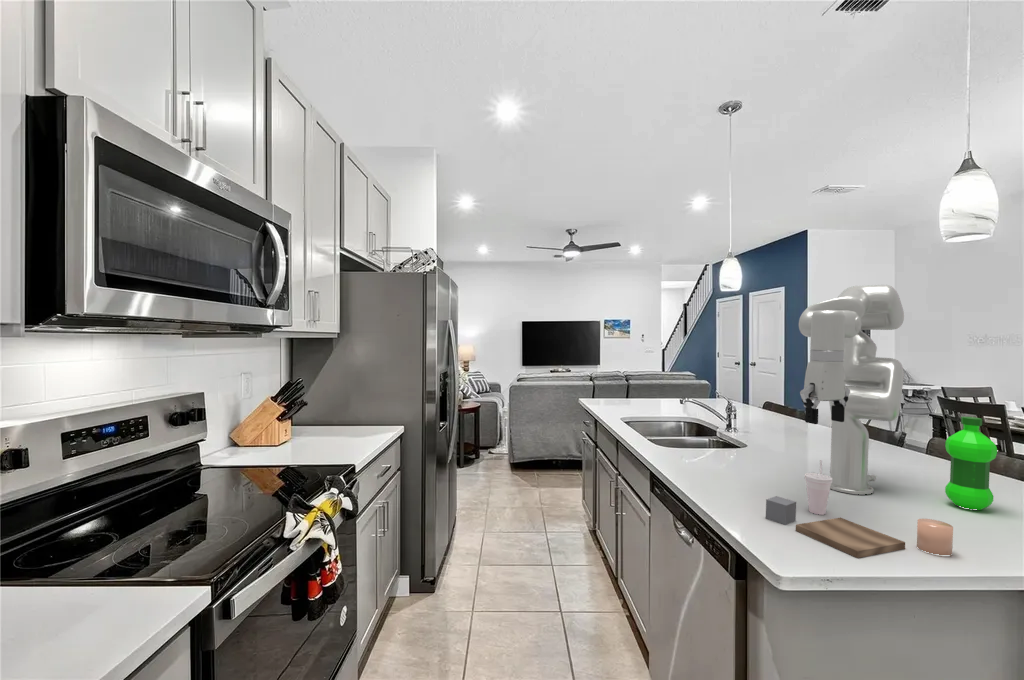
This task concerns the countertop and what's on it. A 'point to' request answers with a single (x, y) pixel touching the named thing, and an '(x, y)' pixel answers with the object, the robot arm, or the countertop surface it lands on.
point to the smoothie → (818, 491)
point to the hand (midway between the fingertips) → (824, 422)
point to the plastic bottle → (970, 466)
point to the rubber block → (781, 510)
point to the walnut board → (850, 537)
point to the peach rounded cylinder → (934, 536)
